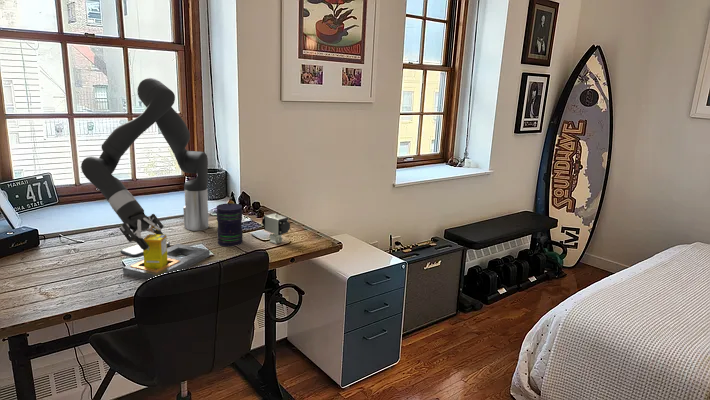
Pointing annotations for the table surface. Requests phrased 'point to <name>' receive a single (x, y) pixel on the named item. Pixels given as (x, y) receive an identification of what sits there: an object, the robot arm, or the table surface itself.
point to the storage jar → (229, 224)
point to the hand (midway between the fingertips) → (155, 244)
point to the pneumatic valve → (276, 226)
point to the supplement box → (155, 251)
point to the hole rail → (173, 262)
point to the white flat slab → (135, 250)
